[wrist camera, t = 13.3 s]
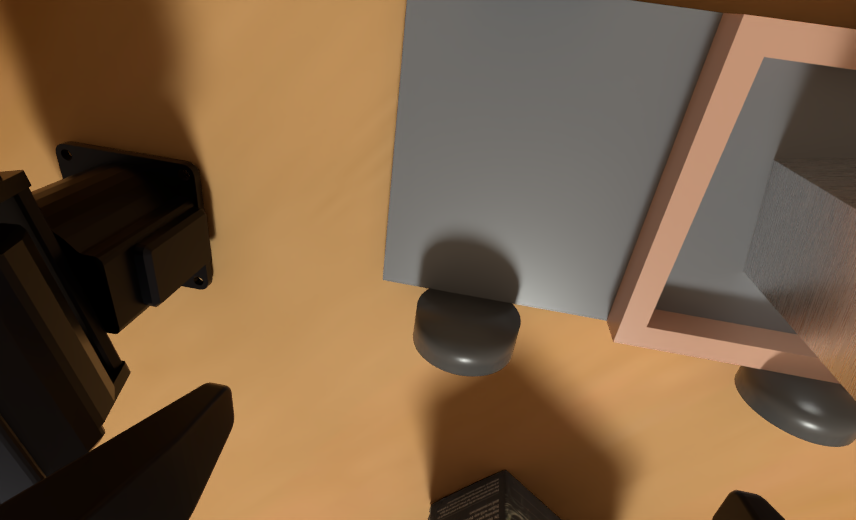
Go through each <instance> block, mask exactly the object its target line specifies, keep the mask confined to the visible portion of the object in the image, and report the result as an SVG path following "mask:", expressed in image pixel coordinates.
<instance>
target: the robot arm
mask: <svg viewBox="0 0 856 520" xmlns="http://www.w3.org/2000/svg"><path fill="white" fill-rule="evenodd" d="M68 151H69V152H70V153H71V155H72V156H71V155H70V154H69V152H68ZM56 155H57V159H58V162H59V166H60V170H61V173H62V177H63V179H62V180H60V181H57V182H55V183H52V184H50V185H47V186H45V187H42V188H40V189H37V190H35V191H32V192H31V191H30V189H29V187H30V186H31V184H30V182H29V180H28V178H27V176H26V174H25V172H24V170H16V171H5V172H0V520H189V518H190V517H191V515H192V513H193V511H194V509H195V507H196V505H197V503H198V501H199V499H200V497H201V495H202V493H203V491H204V488H205V486H206V484H207V482H208V480H209V478H210V475H211V473H212V471H213V469H214V467H215V465H216V462H217V460H218V458H219V456H220V454H221V452H222V449H223V447H224V445H225V443H226V441H227V439H228V436H229V434H230V432H231V430H232V427H233V423H234V410H233V401H232V393H231V389H230V388H229V387H228V386H226V385H221V384H216V383H206V384H203V385H202V386H200V387H198V388H197V389H195V390H193V391H191V392H190V393H188V394H186V395H185V396H183V397H181V398H180V399H178V400H176V401H175V402H173V403H171V404H169V405H168V406H166V407H164V408H163V409H161V410H159V411H158V412H156V413H154V414H153V415H151V416H149V417H147V418H146V419H144V420H142V421H141V422H139V423H137V424H136V425H134V426H132V427H131V428H129V429H127V430H125V431H124V432H122V433H120V434H119V435H117V436H115V437H114V438H112V439H110V440H109V441H107V442H105V443H103V444H102V445H100V446H98V447H97V448H95V449H93V448H94V447H95V446H96V445H97V444H98V443H99V442H100V440H101V439H102V437H103V436H104V434H105V429H104V428H103V426H102V425H103V423H104V422H105V420H106V418H107V416H108V414H109V412H110V410H111V408H112V406H113V405H114V403H115V401H116V399H117V397H118V395H119V393H120V392H121V390H122V388H123V386H124V384H125V382H126V380H127V378H128V377H129V375H130V370H129V368H128V366H127V364H126V363H125V361H121V359H120V357H119V355H118V353H117V352H116V350H115V348H114V346H113V344H112V342H111V340H110V338H109V337H108V335H107V333H112V334H118V333H119V332H120V331H121V330H122V329H124V328H125V327H126V326H127V325H128V324H129V323H131V322H132V321H133V320H134V319H135V318H136V317H138V316H139V315H140V314H141V313H142V312H143V311H145V310H146V309H147V308H148V307H149V306H154V307H157V306H159V305H160V304H161V303H162V302H164V301H165V300H166V299H167V298H168V297H169V296H170V295H172V294H173V293H174V292H175V291H176V290H177V289H178V288H180V287H181V286H184V287H190V288H195V289H205V288H207V287H208V286H209V285H210V284H211V283H212V271H211V263H210V260H211V258H212V257H211V249H210V240H209V232H208V224H207V215H206V213H205V211H204V205H203V197H202V189H201V181H200V173H199V170H198V169H197V167H196V166H195V165H194V164H193V163H191V162H188V161H183V160H177V159H171V158H165V157H159V156H153V155H147V154H141V153H135V152H130V151H124V150H118V149H112V148H106V147H100V146H94V145H88V144H82V143H76V142H65V143H62V144H59V145H58V146H57V147H56ZM184 170H186V171H187V172H188V174H189V177H187V176H186V175H185V174H184ZM199 277H200V278H201V279H202V280H203V281H202V280H200V279H199ZM106 332H107V333H106ZM92 449H93V450H92ZM91 450H92V451H91ZM712 520H785V519H784V518H783V517H782V516H781V515H780V514H779V513H778V512H777V511H776V510H775V509H774V508H773V507H772V506H771V505H770V504H769V503H768V502H767V501H766V500H765V499H764V498H763V497H761V496H759V495H757V494H753V493H748V492H744V491H739V490H734V491H732V492H730V493H729V495H728V496H727V497H726V499H725V500H724V502H723V503H722V505H721V506H720V507H719V509H718V510H717V512H716V513H715V515H714V516H713V519H712Z"/></svg>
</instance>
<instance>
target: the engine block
mask: <svg viewBox="0 0 856 520" xmlns="http://www.w3.org/2000/svg"><path fill="white" fill-rule="evenodd" d="M743 272H744V273H745V274H746V275H747V276H748V278H749V279H750V280H751V281H752V282H753V283H754V285H755V286H756V287H757V288H758V289H759V290H760V291H761V293H762V294H763V295H764V296H765V297H766V298H767V299H768V301H769V302H770V303H771V304H772V305H773V306H774V308H775V309H776V310H777V311H778V312H779V313H780V314H781V316H782V317H783V318H784V319H785V320H786V321H787V322H788V324H789V325H790V326H791V327H792V328H793V329H794V331H795V332H796V333H797V334H798V335H799V336H800V337H801V339H802V340H803V341H804V342H805V343H806V344H807V346H808V347H809V348H810V349H811V350H812V351H813V352H814V354H815V355H816V356H817V357H818V358H819V359H820V360H821V362H822V363H823V364H824V365H825V366H826V367H827V369H828V370H829V371H830V372H831V373H832V374H833V375H834V377H835V378H836V379H837V380H838V381H839V382H840V383H841V385H842V386H843V387H844V388H845V389H846V390H847V392H848V393H849V394H850V395H851V396H852V397H853V398H854V400H855V401H856V158H822V159H786V160H773V163H772V167H771V171H770V174H769V178H768V182H767V185H766V189H765V193H764V196H763V200H762V204H761V208H760V211H759V215H758V219H757V222H756V226H755V230H754V233H753V237H752V241H751V244H750V248H749V252H748V255H747V259H746V263H745V266H744V270H743Z"/></svg>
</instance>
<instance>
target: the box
mask: <svg viewBox="0 0 856 520" xmlns="http://www.w3.org/2000/svg"><path fill="white" fill-rule="evenodd" d="M429 512H430V515H429V518H428V520H561V519H560V518H559V517H557V516H556V515H555V514H554V513H553V512H552V511H551V510H550V509H549V508H547V507H546V506H545V505H544V504H543V503H542V502H541V501H540V500H539V499H538V498H536V497H535V496H534V495H533V494H532V493H531V492H530V491H529V490H527V489H526V488H525V487H524V486H523V485H522V484H521V483H520V482H519V481H517V480H516V479H515V478H514V477H513V476H512V475H511V474H510V473H509V472H507V471H506V470H504V471H501V472H498V473H496V474H494V475H492V476H490V477H488V478H485V479H483V480H481V481H479V482H477V483H475V484H472V485H470V486H468V487H466V488H464V489H462V490H460V491H458V492H456V493H454V494H452V495H450V496H448V497H445V498H443V499H441V500H439V501H438V502H435V503H433V504H432V505H431V507H430V511H429Z"/></svg>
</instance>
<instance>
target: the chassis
mask: <svg viewBox="0 0 856 520" xmlns="http://www.w3.org/2000/svg"><path fill="white" fill-rule="evenodd" d="M822 158H856V29H849V28H842V27H834V26H827V25H820V24H812V23H805V22H798V21H790V20H783V19H776V18H768V17H761V16H754V15H746V14H732V13H720V12H713V11H705V10H698V9H691V8H683V7H676V6H669V5H661V4H654V3H647V2H639V1H632V0H407V6H406V18H405V29H404V41H403V53H402V64H401V76H400V87H399V99H398V110H397V122H396V133H395V145H394V156H393V168H392V180H391V191H390V203H389V214H388V226H387V237H386V249H385V260H384V272H383V280H386V281H392V282H397V283H403V284H408V285H414V286H419V287H425V288H430V289H428V290H427V291H425V292H424V293H423V294H422V295H421V296H420V298H419V300H418V303H417V310H416V317H415V325H414V332H413V341H414V345H415V347H416V349H417V351H418V352H419V353H420V355H421V356H422V357H423V358H424V359H425V360H426V361H428V362H429V363H430V364H432V365H434V366H435V367H437V368H439V369H441V370H443V371H446V372H449V373H452V374H456V375H462V376H484V375H489V374H492V373H495V372H497V371H499V370H501V369H502V368H504V367H505V366H506V365H507V364H508V363H509V361H510V359H511V357H512V354H513V350H514V346H515V343H516V339H517V335H518V331H519V328H520V322H521V320H520V315H519V313H518V311H517V309H516V308H515V306H514V305H513V304H518V305H524V306H529V307H535V308H540V309H546V310H551V311H557V312H562V313H568V314H573V315H579V316H584V317H590V318H595V319H601V320H606V321H607V323H608V326H609V330H610V333H611V336H612V339H613V342H616V343H621V344H627V345H632V346H638V347H643V348H648V349H654V350H659V351H665V352H670V353H676V354H681V355H686V356H692V357H697V358H703V359H708V360H713V361H719V362H724V363H730V364H735V365H741V366H740V368H739V370H738V371H737V373H736V375H735V385H736V388H737V390H738V392H739V394H740V395H741V397H742V398H743V399H744V401H745V402H746V403H747V404H748V405H749V406H750V407H751V408H752V409H753V410H754V411H755V412H757V413H758V414H759V415H760V416H762V417H763V418H764V419H765V420H767V421H768V422H770V423H771V424H773V425H775V426H776V427H778V428H780V429H781V430H783V431H785V432H787V433H789V434H791V435H793V436H795V437H798V438H800V439H803V440H805V441H808V442H812V443H815V444H819V445H823V446H830V447H841V446H846V445H849V444H851V443H852V442H853V441H854V440H855V439H856V401H855V400H854V398H853V397H852V396H851V395H850V394H849V393H848V392H847V390H846V389H845V388H844V387H843V386H842V385H841V383H840V382H839V381H838V380H837V379H836V378H835V377H834V375H833V374H832V373H831V372H830V371H829V370H828V369H827V367H826V366H825V365H824V364H823V363H822V362H821V360H820V359H819V358H818V357H817V356H816V355H815V354H814V352H813V351H812V350H811V349H810V348H809V347H808V346H807V344H806V343H805V342H804V341H803V340H802V339H801V337H800V336H799V335H798V334H797V333H796V332H795V331H794V329H793V328H792V327H791V326H790V325H789V324H788V322H787V321H786V320H785V319H784V318H783V317H782V316H781V314H780V313H779V312H778V311H777V310H776V309H775V308H774V306H773V305H772V304H771V303H770V302H769V301H768V299H767V298H766V297H765V296H764V295H763V294H762V293H761V291H760V290H759V289H758V288H757V287H756V286H755V285H754V283H753V282H752V281H751V280H750V279H749V278H748V276H747V275H746V274H745V273H744V272H743V270H744V266H745V263H746V259H747V255H748V252H749V248H750V244H751V241H752V237H753V233H754V230H755V226H756V222H757V219H758V215H759V211H760V208H761V204H762V200H763V196H764V193H765V189H766V185H767V182H768V178H769V174H770V171H771V167H772V163H773V160H786V159H822ZM512 303H513V304H512Z"/></svg>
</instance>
